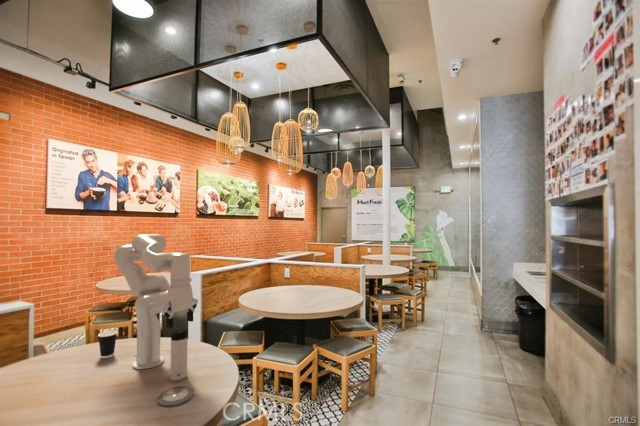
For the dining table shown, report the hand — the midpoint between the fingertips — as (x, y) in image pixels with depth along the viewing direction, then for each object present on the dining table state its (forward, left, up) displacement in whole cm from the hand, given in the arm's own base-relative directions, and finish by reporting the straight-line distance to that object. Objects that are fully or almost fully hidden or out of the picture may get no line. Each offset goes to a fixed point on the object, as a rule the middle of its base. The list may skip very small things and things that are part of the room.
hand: (180, 324), depth 129 cm
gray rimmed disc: (+11, -10, -22) cm, 27 cm away
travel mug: (0, 0, -23) cm, 23 cm away
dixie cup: (-51, -1, -23) cm, 56 cm away
